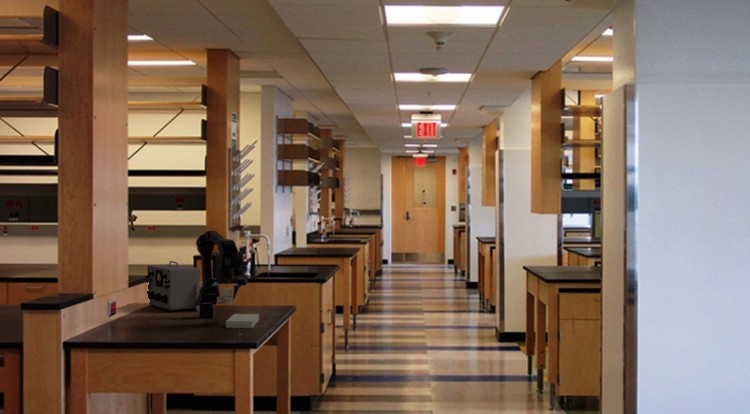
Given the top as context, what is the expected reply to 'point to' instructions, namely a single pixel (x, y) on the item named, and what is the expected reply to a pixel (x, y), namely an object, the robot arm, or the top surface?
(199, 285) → the supplement can
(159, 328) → the top surface
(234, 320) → the dock
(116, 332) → the top surface
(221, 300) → the tall tan box
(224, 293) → the box
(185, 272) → the vintage electronic device
